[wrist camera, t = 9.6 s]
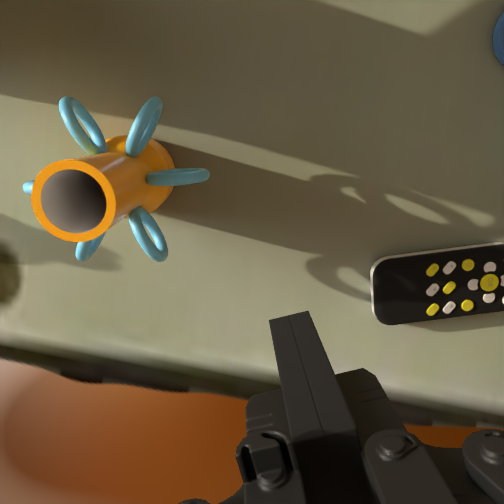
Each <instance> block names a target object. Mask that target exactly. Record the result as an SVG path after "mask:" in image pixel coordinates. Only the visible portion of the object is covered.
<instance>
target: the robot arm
mask: <svg viewBox="0 0 504 504" xmlns="http://www.w3.org/2000/svg"><path fill="white" fill-rule="evenodd" d="M269 323H270V329H271V334H272V339H273V345H274V350H275V355H276V360H277V366H278V371H279V376H280V382H281V387H282V389H278V390H273V391H269V392H265V393H261V394H257V395H252V396H251V398H250V400H249V402H248V404H247V406H246V421H247V422H246V428H247V436H246V437H245V438H244V439H243V440H242V441H241V442H240V444H239V445H238V446H237V450H236V454H235V456H236V460H237V463H238V466H239V469H240V473H241V476H242V479H243V482H244V484H243V485H242V487H241V488H240V489H239V490H238V491H237V492H236V493H235V494H234V495H233V496H231V497H230V498H228V499H226V500H225V501H223V502H221V503H219V504H504V431H501V430H487V429H484V430H480V431H477V432H473V433H472V434H470V435H469V436H468V437H466V438H465V440H464V443H463V445H462V448H441V447H434V446H430V445H427V444H424V443H422V442H421V441H420V440H419V439H418V438H417V437H416V436H415V435H413V434H411V433H409V432H408V431H407V430H406V428H405V426H404V424H403V423H402V421H401V419H400V418H399V416H398V414H397V412H396V411H395V409H394V407H393V405H392V404H391V402H390V400H389V399H388V397H387V395H386V393H385V392H384V390H383V388H382V387H381V385H380V383H379V381H378V380H377V378H376V376H375V375H373V374H372V373H370V372H369V371H367V370H366V369H364V368H361V369H357V370H353V371H348V372H344V373H340V374H336V375H335V374H334V371H333V369H332V366H331V364H330V362H329V359H328V357H327V354H326V352H325V350H324V347H323V345H322V342H321V340H320V338H319V335H318V333H317V330H316V328H315V326H314V323H313V321H312V318H311V316H310V314H309V311H305V312H301V313H296V314H292V315H288V316H284V317H280V318H276V319H272V320H269ZM179 504H210V503H208V502H207V501H206V500H202V499H196V498H195V499H190V500H185V501H183V502H181V503H179Z"/></svg>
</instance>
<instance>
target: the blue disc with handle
mask: <svg viewBox="0 0 504 504" xmlns="http://www.w3.org/2000/svg"><path fill="white" fill-rule="evenodd" d="M493 49H494V52H495V55H496V57H497V59H498V60H499V61H500V63H501V64H503V65H504V12H503V13H502V14H501V16H500V17H499V19H498V21H497V23H496V25H495V28H494V32H493Z"/></svg>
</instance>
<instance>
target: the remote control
mask: <svg viewBox="0 0 504 504" xmlns="http://www.w3.org/2000/svg"><path fill="white" fill-rule="evenodd" d="M370 282H371V303H372V311H373V313H374V315H375V317H376V318H377V319H378V320H379V321H380V322H381V323H383V324H386V325H398V324H406V323H413V322H421V321H429V320H436V319H444V318H452V317H460V316H467V315H475V314H483V313H490V312H498V311H504V243H503V242H493V243H485V244H477V245H470V246H462V247H454V248H446V249H439V250H431V251H423V252H415V253H407V254H400V255H392V256H385V257H382V258H380V259H378V260H377V261H376V262H375V263H374V264H373V266H372V268H371V271H370Z"/></svg>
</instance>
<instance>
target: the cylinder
mask: <svg viewBox="0 0 504 504" xmlns="http://www.w3.org/2000/svg"><path fill="white" fill-rule="evenodd" d="M162 107H163V104H162V101H161V99H160V98H158V97H151V98H150V99H149V100H148V101H147V102H146V103H145V104H144V105H143V107H142V108H141V110H140V112H139V113H138V115H137V117H136V119H135V121H134V123H133V125H132V127H131V129H130V132H129V135H124V136H116V137H113V138H110V139H108V140H106V141H105V139H104V136H103V134H102V132H101V130H100V128H99V127H98V125H97V123H96V122H95V120H94V119H93V117H92V116H91V115H90V113H89V112H88V111H87V110H86V109H85V107H84V106H83V105H82V104H81V103H80V102H78V101H77V100H76V99H74V98H72V97H69V96H65V97H63V98H61V99H60V101H59V111H60V114H61V117H62V119H63V121H64V123H65V125H66V127H67V129H68V130H69V132H70V133H71V135H72V136H73V138H74V139H75V140H76V142H77V143H78V144H79V145H80V146H81V147H82V148H83V149H84V150H85V151H86V152H87V153H88V154H89V155H90V156H84V157H78V158H72V159H66V160H61V161H57V162H54V163H52V164H50V165H48V166H47V167H45V168H44V169H43V170H42V171H41V172H40V173H39V174H38V176H37V177H36V179H35V180H32V181H28V182H26V183H25V184H24V185H23V190H24V192H26V193H27V194H31V202H32V207H33V210H34V213H35V215H36V217H37V219H38V220H39V222H40V223H41V225H42V226H43V227H44V228H45V229H46V230H47V231H48V232H50V233H51V234H52V235H54V236H56V237H58V238H60V239H63V240H66V241H71V242H78V245H77V248H76V253H75V254H76V258H77V259H78V260H79V261H86V260H87V259H89V258H90V257H91V255H92V254H93V253H94V252H95V250H96V249H97V247H98V245H99V244H100V242H101V240H102V239H103V237H104V235H105V233H106V231H107V230H108V229H109V228H110V227H112V226H113V225H114V224H116V223H117V222H118V221H119V220H121V219H122V218H129V223H130V226H131V229H132V231H133V233H134V235H135V237H136V239H137V241H138V243H139V244H140V246H141V247H142V249H143V250H144V251H145V252H146V253H147V254H148V256H150V257H151V258H152V259H153V260H155V261H158V262H161V261H164V260H165V259H166V258H167V256H168V248H167V244H166V241H165V238H164V236H163V234H162V232H161V230H160V228H159V226H158V225H157V223H156V222H155V220H154V219H153V217H152V216H151V215H150V214H149V213H151V212H153V211H154V210H155V209H157V208H158V207H159V206H160V205H161V204H162V203H163V202H164V201H165V200H166V199H167V197H168V196H169V195H170V193H171V191H172V189H173V187H174V186H177V185H187V184H194V183H200V182H203V181H206V180H207V179H208V178H209V176H210V174H209V171H208V170H207V169H204V168H181V169H175V167H174V163H173V160H172V158H171V156H170V154H169V153H168V152H167V150H166V149H165V148H164V147H163V146H162V145H161V144H160V143H158V142H157V141H155V140H153V139H151V136H152V134H153V132H154V130H155V128H156V126H157V123H158V121H159V118H160V115H161V112H162ZM75 115H76V116H77V117H78V118H79V119H80V120H81V122H82V123H83V124H84V126H85V127H86V129H87V130H88V132H89V134H90V136H91V138H92V140H93V141H92V140H91V139H90V138H89V137H88V135H87V134H86V133H85V131H84V130H83V128H82V127H81V125H80V124H79V122H78V120H77V118H76V116H75ZM142 222H143V223H144V224H145V226H146V227H147V229H148V230H149V232H150V234H151V235H152V237H153V240H154V242H155V244H156V246H155V245H154V243H153V242H152V241H151V239H150V238H149V236H148V234H147V233H146V231H145V229H144V226H143V224H142Z"/></svg>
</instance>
